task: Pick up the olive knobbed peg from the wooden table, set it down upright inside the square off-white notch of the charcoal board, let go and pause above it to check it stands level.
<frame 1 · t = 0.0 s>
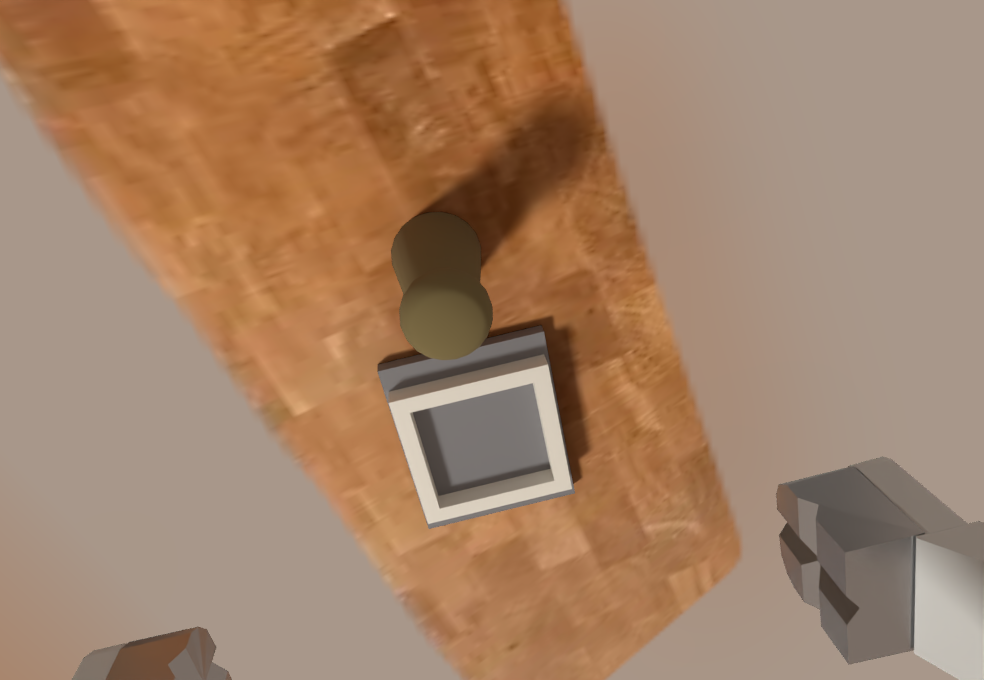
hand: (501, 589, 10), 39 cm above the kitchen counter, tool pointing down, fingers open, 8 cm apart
notch board: (481, 428, 56), on the kitchen counter
olive knobbed peg: (436, 254, 49), on the kitchen counter
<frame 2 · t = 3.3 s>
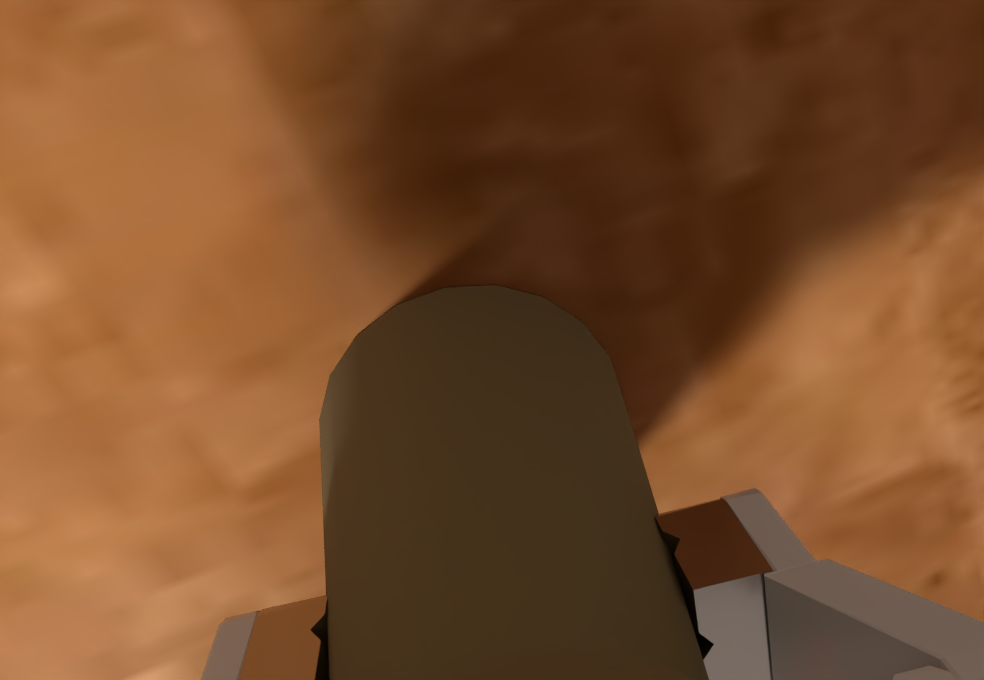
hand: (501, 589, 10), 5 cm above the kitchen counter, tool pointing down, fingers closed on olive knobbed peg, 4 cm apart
olive knobbed peg: (474, 425, 15), on the kitchen counter, touching gripper
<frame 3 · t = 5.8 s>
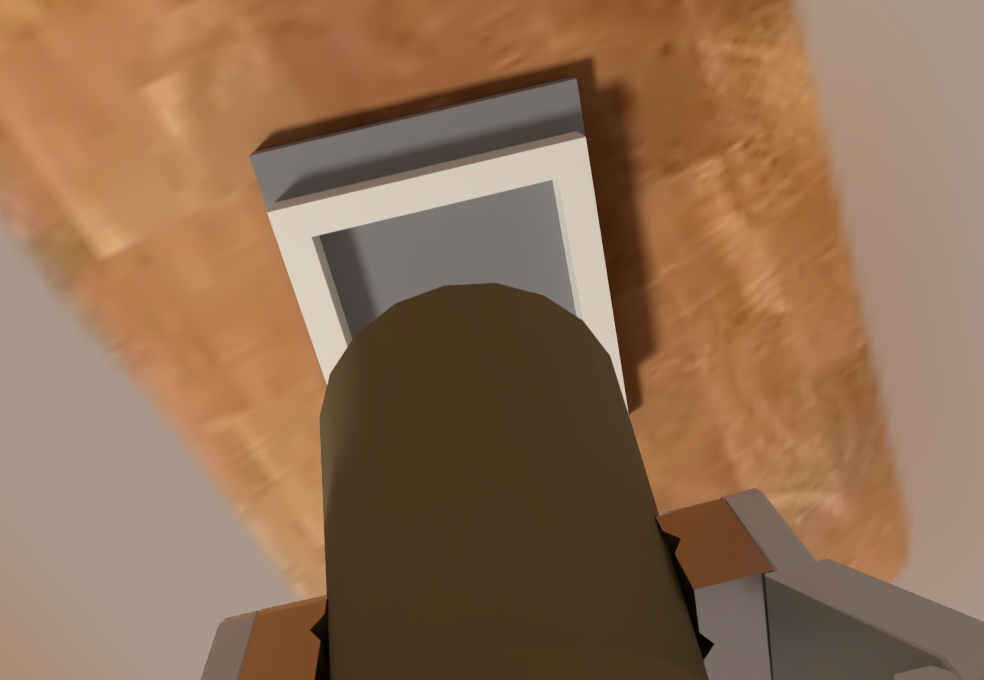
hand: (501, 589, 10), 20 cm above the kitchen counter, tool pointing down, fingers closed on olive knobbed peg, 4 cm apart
notch board: (459, 298, 30), on the kitchen counter
olive knobbed peg: (473, 422, 15), point 15 cm above the kitchen counter, touching gripper
when the fingers open (7 cm above the kitchen counter, at t = 8.3 s): olive knobbed peg stays where it is, resting on notch board.
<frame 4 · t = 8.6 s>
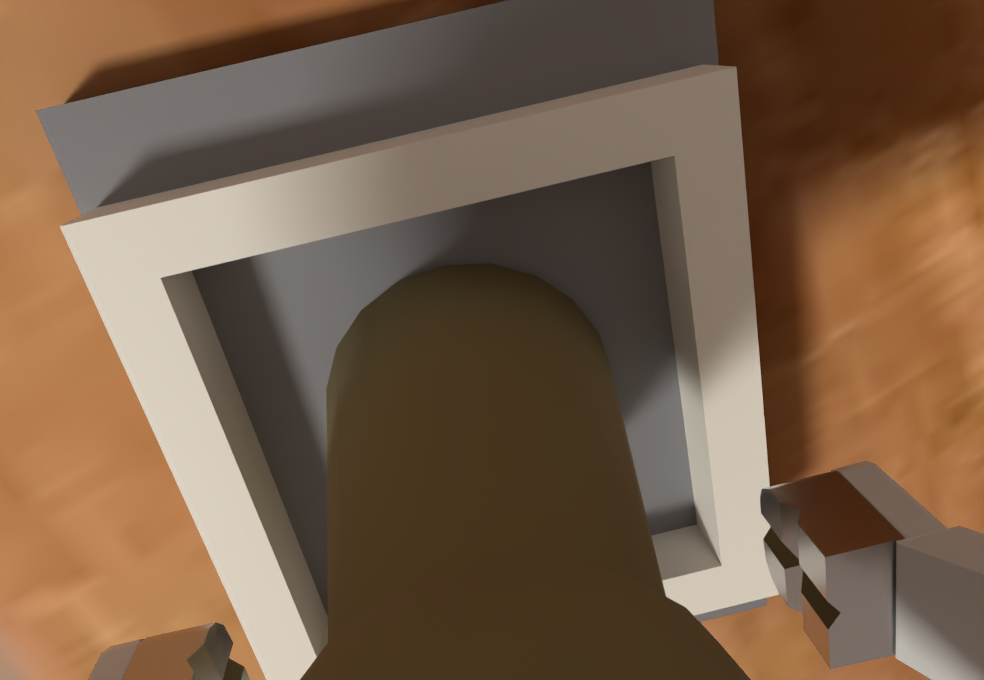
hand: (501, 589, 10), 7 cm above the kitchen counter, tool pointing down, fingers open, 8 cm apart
notch board: (467, 384, 17), on the kitchen counter
olive knobbed peg: (471, 397, 16), point 1 cm above the kitchen counter, touching notch board
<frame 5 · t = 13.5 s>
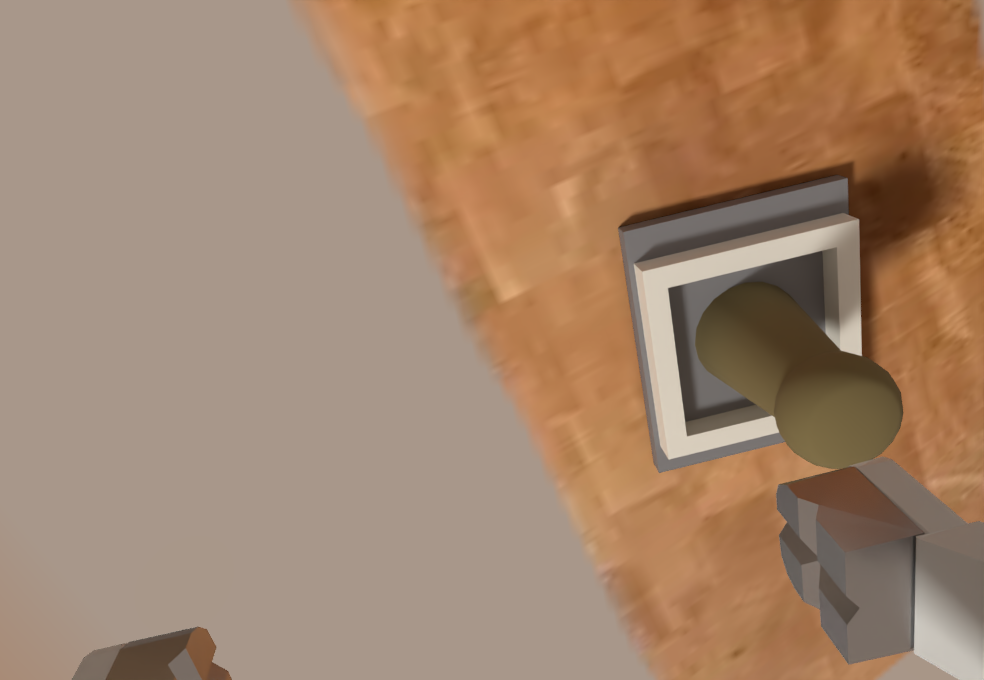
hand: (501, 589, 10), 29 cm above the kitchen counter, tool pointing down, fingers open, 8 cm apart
notch board: (739, 329, 42), on the kitchen counter
olive knobbed peg: (746, 332, 41), point 1 cm above the kitchen counter, touching notch board
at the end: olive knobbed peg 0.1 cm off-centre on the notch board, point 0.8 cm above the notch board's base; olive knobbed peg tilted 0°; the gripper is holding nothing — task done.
